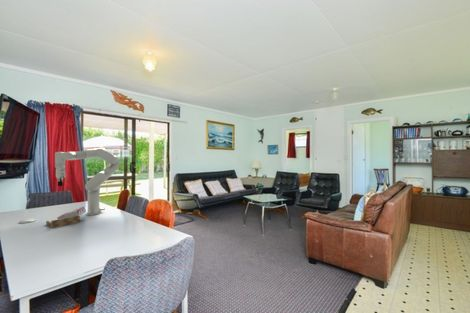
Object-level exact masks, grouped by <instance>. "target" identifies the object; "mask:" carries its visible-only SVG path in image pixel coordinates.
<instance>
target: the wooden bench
mask: <svg viewBox="0 0 470 313" xmlns="http://www.w3.org/2000/svg"><path fill="white" fill-rule="evenodd" d="M80 222H81V215H79V216H75V217H70V218H64V219H54V220H51V221H49V220H46V226H48V227H49V228H57V227H61V226H67V225H71V224H78V223H80Z"/></svg>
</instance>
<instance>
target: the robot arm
mask: <svg viewBox="0 0 470 313" xmlns="http://www.w3.org/2000/svg"><path fill="white" fill-rule="evenodd" d="M97 158H100V159H101V160H103V161H105V162H106V163H108V165H107V166H106V167H105V168H104V169H103V170H101V171H100V172H97V173H96V174H95V175H93V176H92V177H91V178H90V179H89V180H88V181H87V182H86V183H85V185H84V188H85V190H86V191H87V211H86V212H85V215H86V216H96V215H99V214H101V213H102V211H105V210H106V208H105V207H100V191H101V190H100V189H101V185H102V184H103V183H105V182H106V181H108V180H109V178H110V177H111V176H112V175H113V174H114V173H115V172H117V170H118V169H119V167H120V165H121V164H120V163H121V162H120V158H119V157H118V155H114V154H112V153H111V152H110V151H108V150H107V149H105V148H103V147H97V148H90V149H86V150H85V149H84V150H81V151H80V150H79V151H66V152H65V151H64V152H63V151H56V152H55V153H54V168H55V178H56V179H57V187H63V185H64V184H63V183H64V181H63V180H64V179H65V178H66V161H76V160H84V159H86V160H87V159H97Z"/></svg>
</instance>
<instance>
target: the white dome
mask: <svg viewBox="0 0 470 313" xmlns="http://www.w3.org/2000/svg"><path fill="white" fill-rule="evenodd" d="M36 221H37V220H36V218H25V219H21V220H19V223H18V224H29V223H34V222H36Z"/></svg>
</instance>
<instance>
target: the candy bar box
mask: <svg viewBox="0 0 470 313" xmlns="http://www.w3.org/2000/svg"><path fill="white" fill-rule="evenodd" d="M86 212H87V210H86V208H85V206H82V207H81V206H80V207H79V208H75V209H73V210H70V211H67V212H65V213H62V214H61V215H59V216H57V217H56V218H57V219H56V220H58V219H64V218H70V217H75V216H82V214H84V213H86Z"/></svg>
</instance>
